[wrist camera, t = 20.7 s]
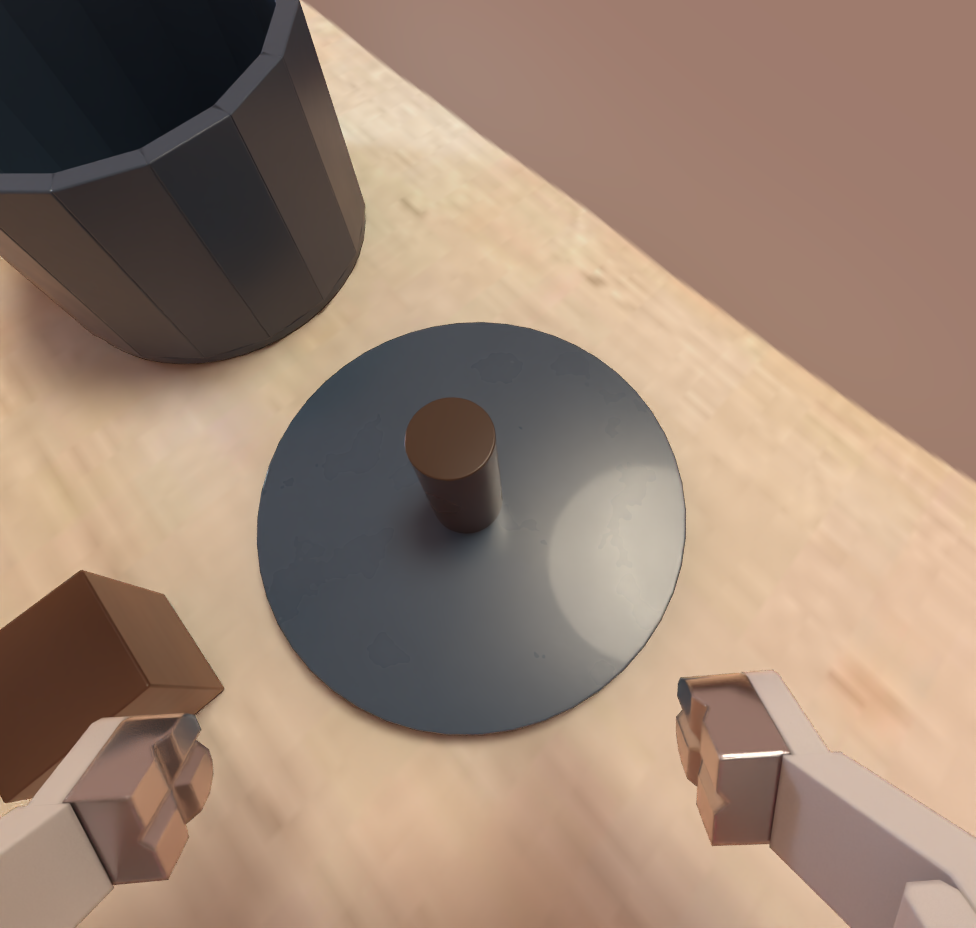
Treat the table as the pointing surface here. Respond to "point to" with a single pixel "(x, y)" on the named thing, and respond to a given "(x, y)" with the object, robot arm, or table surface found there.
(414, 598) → the lid
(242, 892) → the table surface
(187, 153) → the tin
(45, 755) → the block
